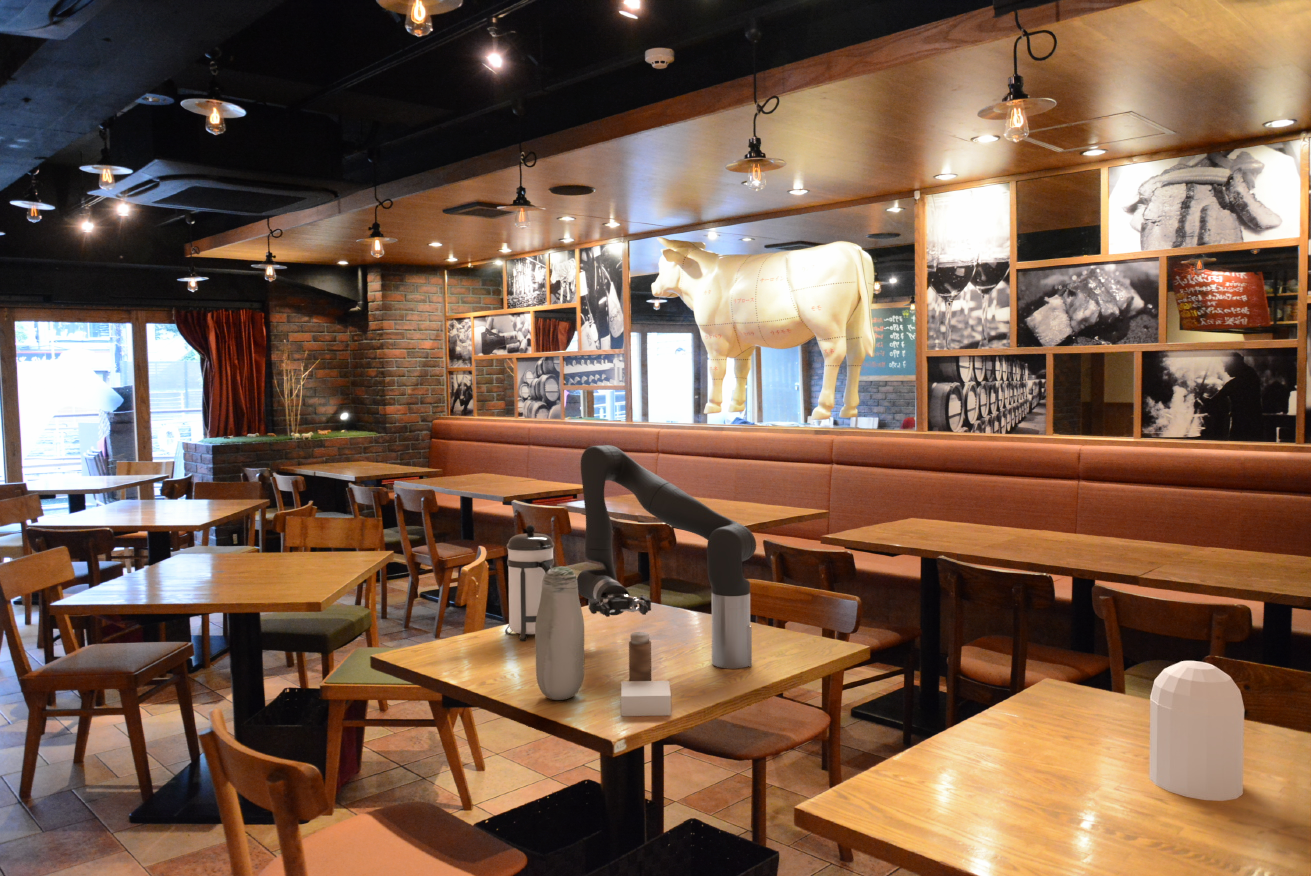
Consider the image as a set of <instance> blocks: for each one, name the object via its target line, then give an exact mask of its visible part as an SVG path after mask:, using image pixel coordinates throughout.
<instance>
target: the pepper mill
mask: <svg viewBox="0 0 1311 876" xmlns="http://www.w3.org/2000/svg"><path fill="white" fill-rule="evenodd" d="M628 671H629V672H628V674H629V675H628V676H629V677H628V680H629V681H652V641H651V640H650V633H649V632H646V631H634V632H631V633H630V641H628Z"/></svg>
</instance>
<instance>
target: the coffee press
mask: <svg viewBox="0 0 1311 876" xmlns="http://www.w3.org/2000/svg"><path fill="white" fill-rule="evenodd" d="M534 526H535V525H532V524H529V525H527V526H526V528H525V530H526V532H527V533H520V534H516V535H514V536H511V538H510V539H509V540H508V543H507V544H506V549H507V554H508V556H507V559H506V560H507V561H506V562H507V566H508V569H507V570H508V574H507V575H508V577H507V578H508V625H507V627H506V628H505V629H504V633H505V634H506V635H510V634H511V633H517V634H520V635H519V641H520V642H526V641H527V637H528V636H529V635H535V624H536V617H537V612H538V609H539V604H540V599H541V592H542V580H543V577H544V575H545V573H546V572H547V571H548V570H549V569H551V568H554V564H555V557H554V547H555V542H553V539H552V537H550V536H549V535H547V534H545V533H535V527H534ZM509 629H510V632H509V631H508V630H509Z"/></svg>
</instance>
